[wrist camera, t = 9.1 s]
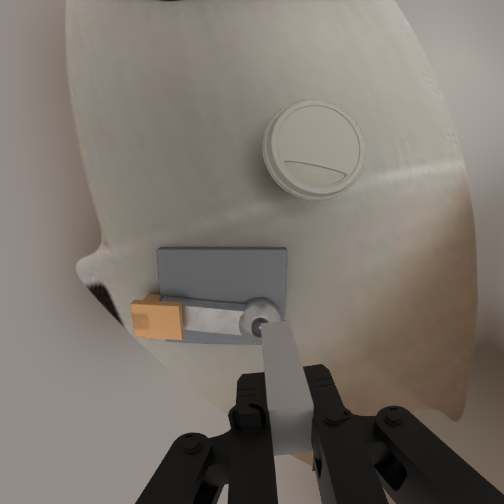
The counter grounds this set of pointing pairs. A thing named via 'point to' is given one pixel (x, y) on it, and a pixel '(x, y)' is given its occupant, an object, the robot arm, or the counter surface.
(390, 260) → the counter surface
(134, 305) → the block
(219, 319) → the link
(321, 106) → the coffee cup
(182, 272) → the board
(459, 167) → the counter surface
